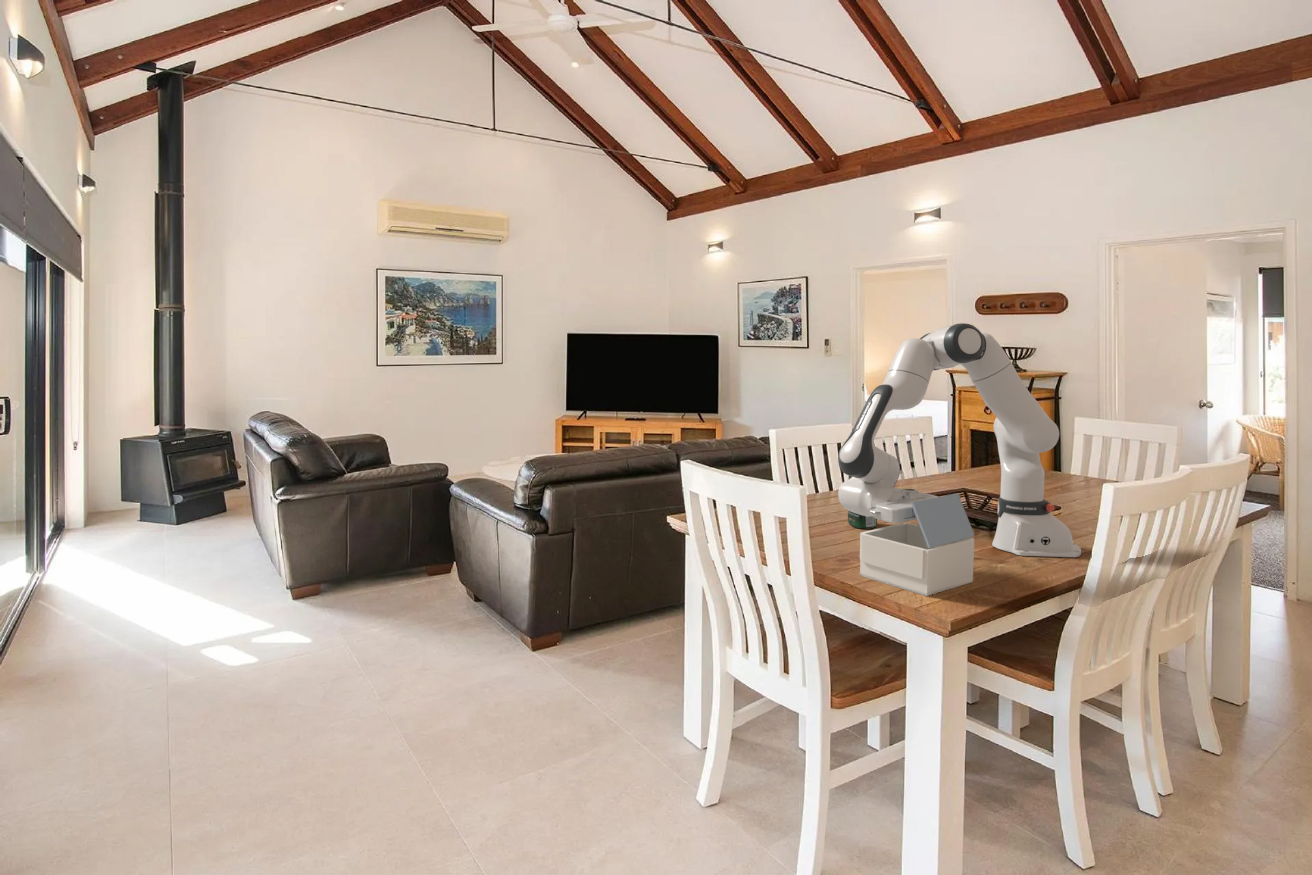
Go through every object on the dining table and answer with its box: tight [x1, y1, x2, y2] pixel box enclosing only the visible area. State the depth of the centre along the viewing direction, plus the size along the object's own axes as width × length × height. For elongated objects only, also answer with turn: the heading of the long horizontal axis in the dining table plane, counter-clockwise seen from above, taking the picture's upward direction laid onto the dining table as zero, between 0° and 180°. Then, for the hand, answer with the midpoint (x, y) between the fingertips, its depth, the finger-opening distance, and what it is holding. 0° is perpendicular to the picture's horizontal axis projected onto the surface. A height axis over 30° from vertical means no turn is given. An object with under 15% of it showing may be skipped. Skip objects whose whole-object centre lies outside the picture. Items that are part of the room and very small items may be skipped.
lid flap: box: [911, 492, 976, 548], centre depth 185 cm, size 11×17×1 cm
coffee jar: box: [847, 475, 878, 530], centre depth 246 cm, size 10×8×19 cm
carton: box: [859, 522, 975, 597], centre depth 192 cm, size 21×19×11 cm
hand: (938, 514), depth 186 cm, fingers closed, pressing on lid flap
